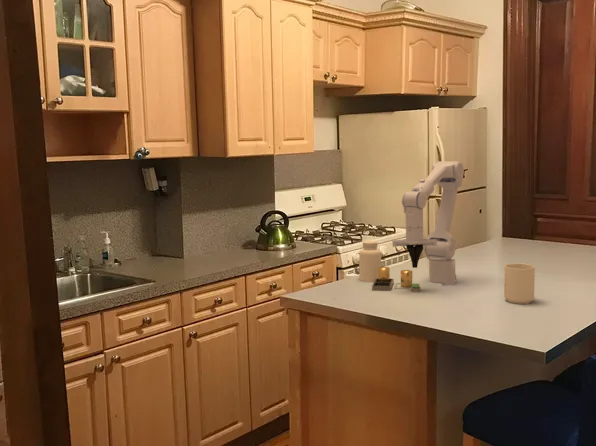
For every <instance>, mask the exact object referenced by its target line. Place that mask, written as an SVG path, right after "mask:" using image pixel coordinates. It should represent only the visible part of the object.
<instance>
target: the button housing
mask: <svg viewBox="0 0 596 446" xmlns="http://www.w3.org/2000/svg"><path fill="white" fill-rule="evenodd" d="M421 288H422V287H421V286H420V287H418V288H414V287H411V289H410V292H411V293H415V292H416V293H421V290H422V289H421Z"/></svg>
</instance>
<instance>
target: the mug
mask: <svg viewBox="0 0 596 446" xmlns="http://www.w3.org/2000/svg"><path fill="white" fill-rule="evenodd" d="M535 269H536V267H535V265H532V264H527V263H508V264H505V265H504V285H503V286H504V289H503V290H504V294H503V295H504V299H505V300H506V302H508V303H511V304H516V305H517V304H519V305H521V304H522V305H523V304H525V305H526V304H527V305H528V304H530V303H532V302H533V301H534V299H535V279H536V278H535V276H536V275H535Z"/></svg>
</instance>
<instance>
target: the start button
mask: <svg viewBox="0 0 596 446" xmlns="http://www.w3.org/2000/svg"><path fill="white" fill-rule="evenodd" d="M412 287H414V288H418V287H421V285H420V283H419V284H412Z"/></svg>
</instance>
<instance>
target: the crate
mask: <svg viewBox="0 0 596 446" xmlns="http://www.w3.org/2000/svg"><path fill="white" fill-rule="evenodd" d="M394 281H395V279H394V278H390V282H378V278H376V280H375V282H372V283H373V284H372V286H371V287H372V288H371V291H378V292H379V291H380V292H381V291H382V292H384V291H386V292H392V290H393V288H394V286H395V282H394Z"/></svg>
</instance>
